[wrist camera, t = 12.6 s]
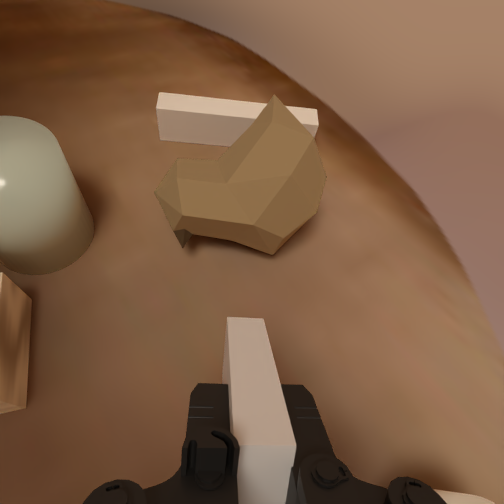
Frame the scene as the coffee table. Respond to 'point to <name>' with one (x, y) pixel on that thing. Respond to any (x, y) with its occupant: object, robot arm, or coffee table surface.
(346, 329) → the coffee table surface
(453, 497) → the cream capsule
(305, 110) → the rail
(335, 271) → the coffee table surface
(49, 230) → the pale green egg
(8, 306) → the birch box
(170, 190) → the low-poly potato
